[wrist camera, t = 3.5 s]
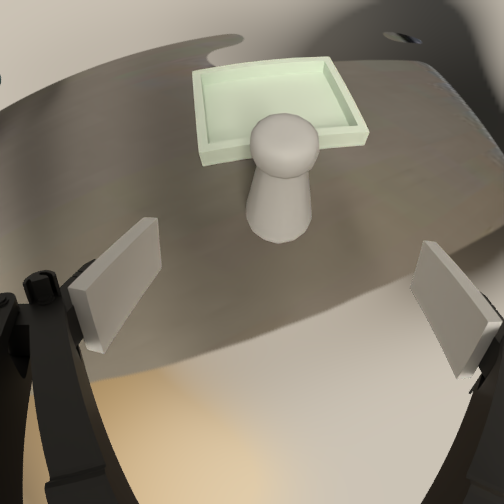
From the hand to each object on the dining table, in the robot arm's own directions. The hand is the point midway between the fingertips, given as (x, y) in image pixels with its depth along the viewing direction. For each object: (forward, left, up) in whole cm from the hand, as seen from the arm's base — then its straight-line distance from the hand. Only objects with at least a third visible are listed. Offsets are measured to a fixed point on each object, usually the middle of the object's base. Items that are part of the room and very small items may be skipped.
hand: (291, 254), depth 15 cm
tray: (-11, +19, -13) cm, 26 cm away
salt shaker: (-4, +6, -13) cm, 15 cm away
